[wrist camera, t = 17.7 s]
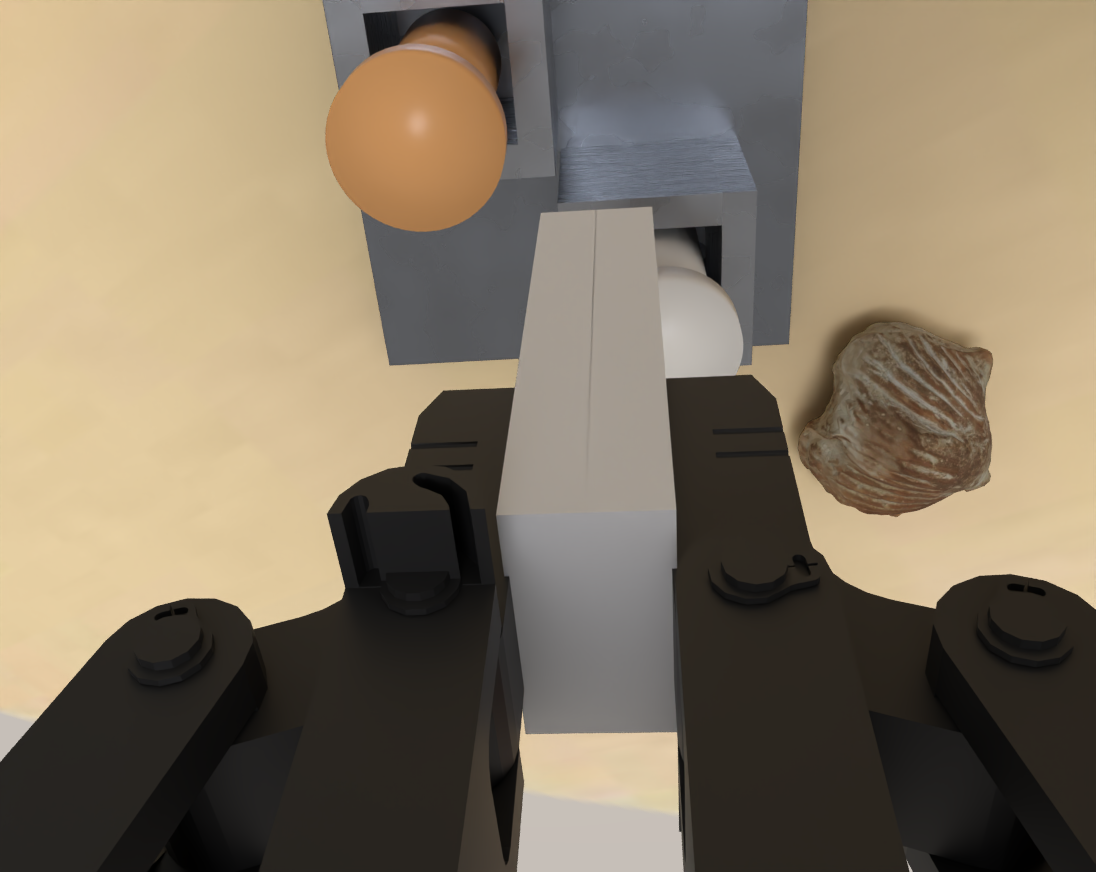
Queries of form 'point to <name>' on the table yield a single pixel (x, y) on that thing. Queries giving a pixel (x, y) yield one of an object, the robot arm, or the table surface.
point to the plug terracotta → (422, 125)
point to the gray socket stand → (603, 156)
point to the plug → (694, 311)
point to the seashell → (902, 421)
